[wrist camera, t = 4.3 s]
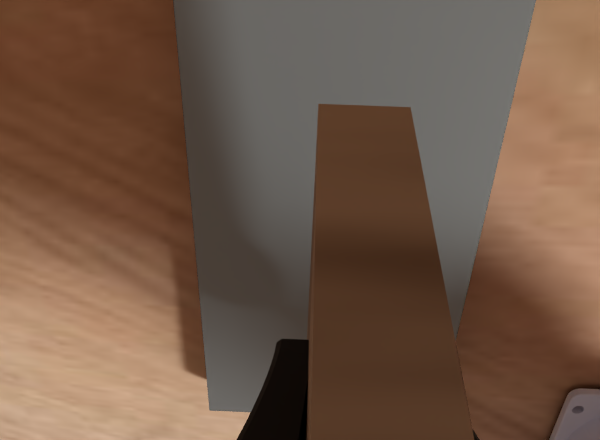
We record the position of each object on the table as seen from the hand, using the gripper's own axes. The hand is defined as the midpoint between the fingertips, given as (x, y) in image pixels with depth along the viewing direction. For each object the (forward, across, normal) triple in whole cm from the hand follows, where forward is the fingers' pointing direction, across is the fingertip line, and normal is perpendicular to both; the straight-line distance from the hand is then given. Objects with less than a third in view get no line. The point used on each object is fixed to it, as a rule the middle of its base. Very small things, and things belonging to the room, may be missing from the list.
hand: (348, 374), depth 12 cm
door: (+3, 0, +1) cm, 3 cm away
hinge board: (+9, 0, +2) cm, 10 cm away
